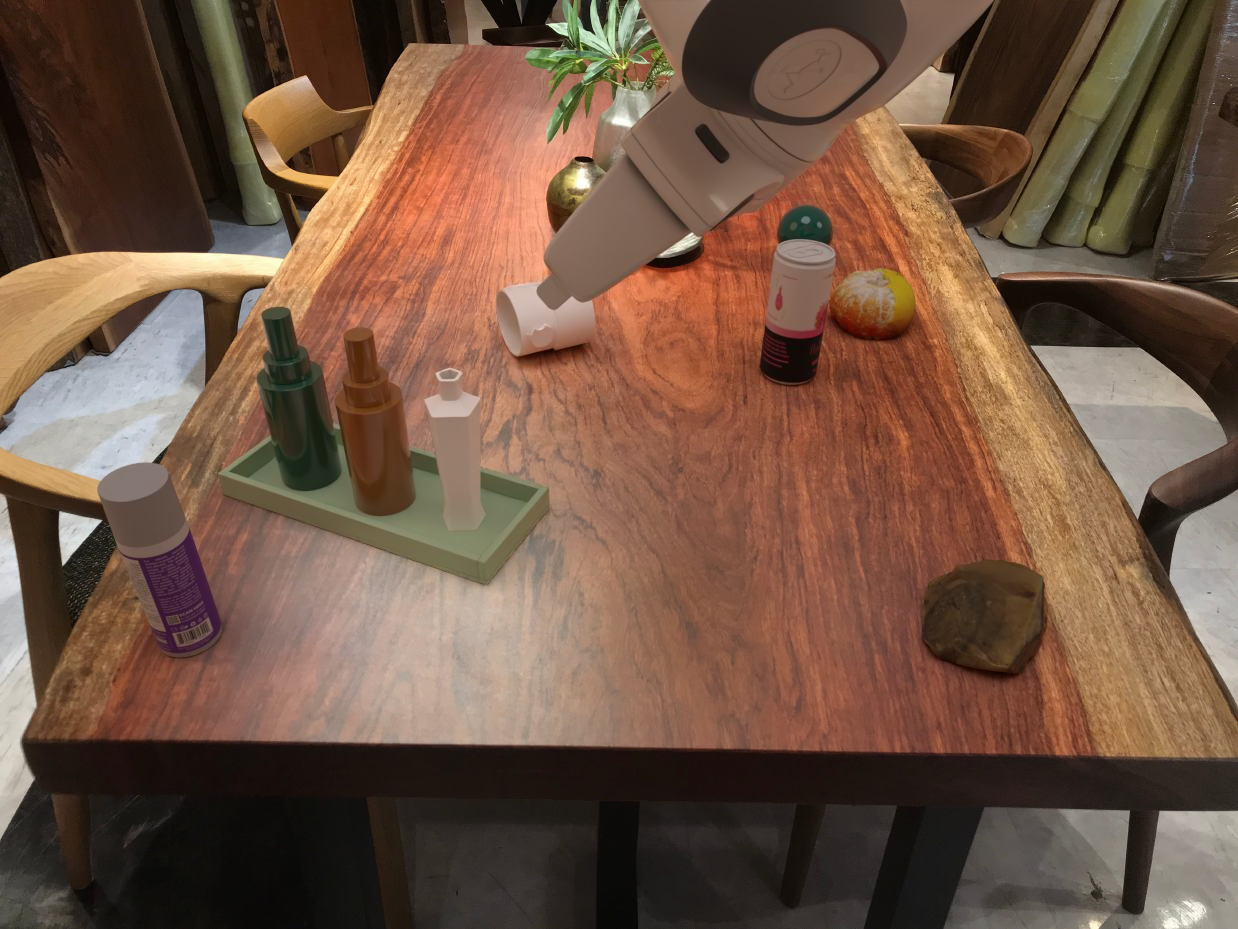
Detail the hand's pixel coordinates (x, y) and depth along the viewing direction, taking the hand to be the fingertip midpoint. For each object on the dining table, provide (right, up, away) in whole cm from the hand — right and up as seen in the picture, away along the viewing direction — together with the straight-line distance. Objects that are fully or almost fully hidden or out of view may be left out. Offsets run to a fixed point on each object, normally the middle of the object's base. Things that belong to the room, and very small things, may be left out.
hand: (580, 270), depth 59 cm
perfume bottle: (-12, -18, +21) cm, 30 cm away
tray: (-19, -16, +24) cm, 35 cm away
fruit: (+35, +5, +56) cm, 66 cm away
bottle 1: (-27, -14, +26) cm, 40 cm away
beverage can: (+22, -2, +45) cm, 50 cm away
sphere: (+29, +17, +72) cm, 79 cm away
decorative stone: (+32, -26, +13) cm, 43 cm away
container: (-31, -26, +10) cm, 42 cm away
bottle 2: (-19, -16, +24) cm, 34 cm away
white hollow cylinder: (-7, +2, +50) cm, 50 cm away
